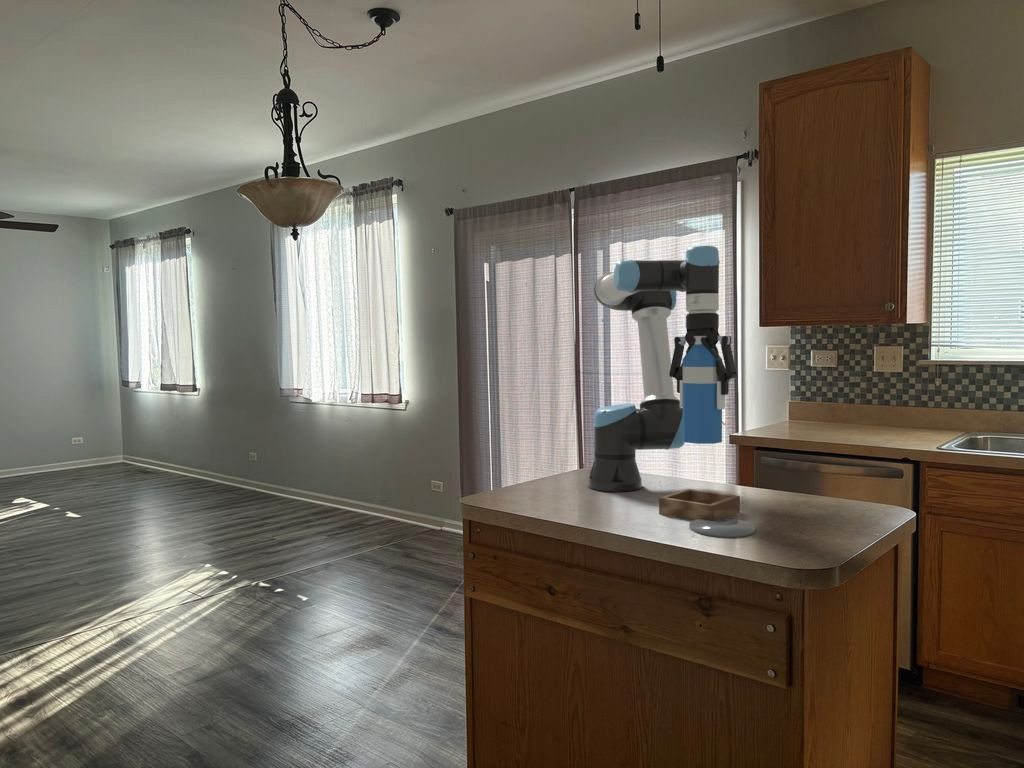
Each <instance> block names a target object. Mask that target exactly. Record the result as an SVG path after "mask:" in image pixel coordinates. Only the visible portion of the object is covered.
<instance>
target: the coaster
mask: <svg viewBox="0 0 1024 768" xmlns="http://www.w3.org/2000/svg"><path fill="white" fill-rule="evenodd" d="M688 529H689V530H690V531H691V532H694V533H696V534H699V535H703V536H707V537H712V538H713V537H714V538H715V537H716V538H727V539H728V538H742V537H743V538H744V536H745V537H749V536H752V535H754V534H755V533H756V526H755V525H754V524H752V523H750V522H749V521H744V520H741V519H735V518H729V517H727V518H716V519H713V520H709V519H704V518H702V519H696V520H691V521H689V528H688Z"/></svg>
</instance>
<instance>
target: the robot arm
mask: <svg viewBox="0 0 1024 768" xmlns="http://www.w3.org/2000/svg"><path fill="white" fill-rule="evenodd" d="M719 253H720V251H719V248H718V247H716V246H715V245H697V246H695V245H694V246H691V247H688V248H687V249H686V251H685V258H684V259H683V260H681V259H679V260H677V259H676V260H675V259H672V260H671V259H669V260H668V259H667V260H666V259H665V260H663V259H662V260H659V259H658V260H642V259H641V260H635V259H634V260H633V259H628V260H619V261H617V262H616V264H615V266H614V269H613V270H614V271H610V272H605V273H603V274H602V275H601V276H599V277H598V278H597V280H596V281H595V283H594V287H593V294H594V298H595V299H596V301H597V302H598V303H599V304H600V305H602V306H603V307H605V308H608V309H610V310H614V311H630V312H631V318H632V319H633V320H634V321H635V322H637V326H638V327H637V329H638V331H637V332H638V341H639V352H640V353H639V354H640V365H641V377H642V386H643V387H642V389H643V397H644V398H643V399H642V400H641V401H640V403H639V408H637V407H636V405H635V404H633V403H622V404H613V405H609V406H607V405H606V406H603V407H600V408H598V409H596V411H595V413H594V419H593V420H594V422H593V427H594V428H593V430H594V431H593V433H594V437H593V439H594V449H593V450H594V451H593V453H594V456H593V457H594V460H593V463H592V467H591V469H590V473H589V477H588V481H587V482H588V487H589V488H590V489H591V490H597V491H600V492H601V491H603V492H631V491H637V490H640V489H641V488H642V484H643V483H642V482H643V481H642V477H641V474H640V470H639V467H638V463H637V461H636V451H637V450H642V451H644V450H666V451H667V450H672V449H674V450H675V449H680V448H682V447H683V446H684V445H685V444H686V442H684V441H683V357H685V356H686V354H687V353H688V352H689V351H690V349H691V348H692V347H693V346H694V344H695V341H696V339H695V338H694V336H707V337H706V338H705V337H702V338H701V342H702V344H703V346H704V347H705V348H706V349H707V350H708V351H709V352H710V353H712V354H713V356H714V357H715V359H716V372H717V374H718V376H719V378H720V379H719V381H717V409H722V410H725V409H726V396H727V395H729V393H730V391H729V389H730V384H729V383H730V380H732V379H735V378H737V377H738V375H737V369H736V365H735V359H734V355H733V350H732V346H731V345H732V336H731V335H721V334H720V333H719V326H720V316H719V313H717V312H718V311H719V310H720V304H719V303H720V302H719V301H720V299H719V298H720V296H719V295H720V294H719V293H720V292H719V289H720V263H721V262H720V255H719ZM677 292H681V293H684V292H685V311H686V313H687V312H688V313H687V314H686V315H685V329H686V333H685V335H682V336H675V337H674V338H673V340H674V341H673V342H674V349H673V354H672V357H671V349H670V348H671V347H670V339H669V330H668V320H667V319H668V318H669V317H670V316H671V314H672V311H673V310H674V309H675V308H676V304H677ZM686 343H687V345H688V346H687V349H686V350H684V349H685V346H686ZM718 343H719V344H720V347H721V348H720V349H721V352H722V358H723V359H722V361H720V360H718V356H720V353H719V350H718V347H717V344H718ZM712 348H714V349H715V350H712ZM684 352H685V355H684ZM683 355H684V356H683ZM671 358H672V359H671ZM723 361H724V362H723ZM673 378H674V379H675V380H676V392H677V394H679V398H678V397H676V395H675V390H674V382H673Z"/></svg>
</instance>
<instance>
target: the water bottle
mask: <svg viewBox="0 0 1024 768" xmlns="http://www.w3.org/2000/svg"><path fill="white" fill-rule="evenodd" d="M702 337H705V338H706V337H707V336H694V338H695V339H696V341H695V344H694V346H693V347H692V348H691V349H690V351H689V352H688V353H687V354H686V353H685V355H686V356H685V355H684V356H683V357H682V362H683V407H682V408H683V441H684V442H685V444H686V443H687V444H688V443H689V444H695V445H697V444H698V445H702V444H703V445H709V444H711V445H713V444H720V443H723V409H717V381H719V379H720V378H719V376H718V374H717V372H716V359H715V357H714V356H713V354H712V353H710V352H709V351H708V350H707V349H706V348H705V347H704V346H703V344H702V342H701V338H702ZM712 350H715V349H714V348H712ZM722 358H723V357H721V355H719V356H718V360H720V361H722V362H723V359H722Z"/></svg>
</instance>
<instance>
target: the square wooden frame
mask: <svg viewBox="0 0 1024 768" xmlns="http://www.w3.org/2000/svg"><path fill="white" fill-rule="evenodd" d="M740 497H741V496H740V495H734V494H729V493H728V494H727V493H722V492H721V493H719V492H714V491H707V490H701V489H696V488H695V489H694V488H686V489H683V490H680V491H676V492H673V493H670V494H666V495H664V496H660V497H659V498H658V504H659V505H658V515H662V514H664V515H663V516H668V515H669V516H668V517H673V516H674V518H680V519H685V520H689V521H690V520H691V521H693V520H696V519H702V518H704V519H709V520H713V519H716V518H729V517H732V516H734V515H738V514H740V513H741V498H740Z"/></svg>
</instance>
